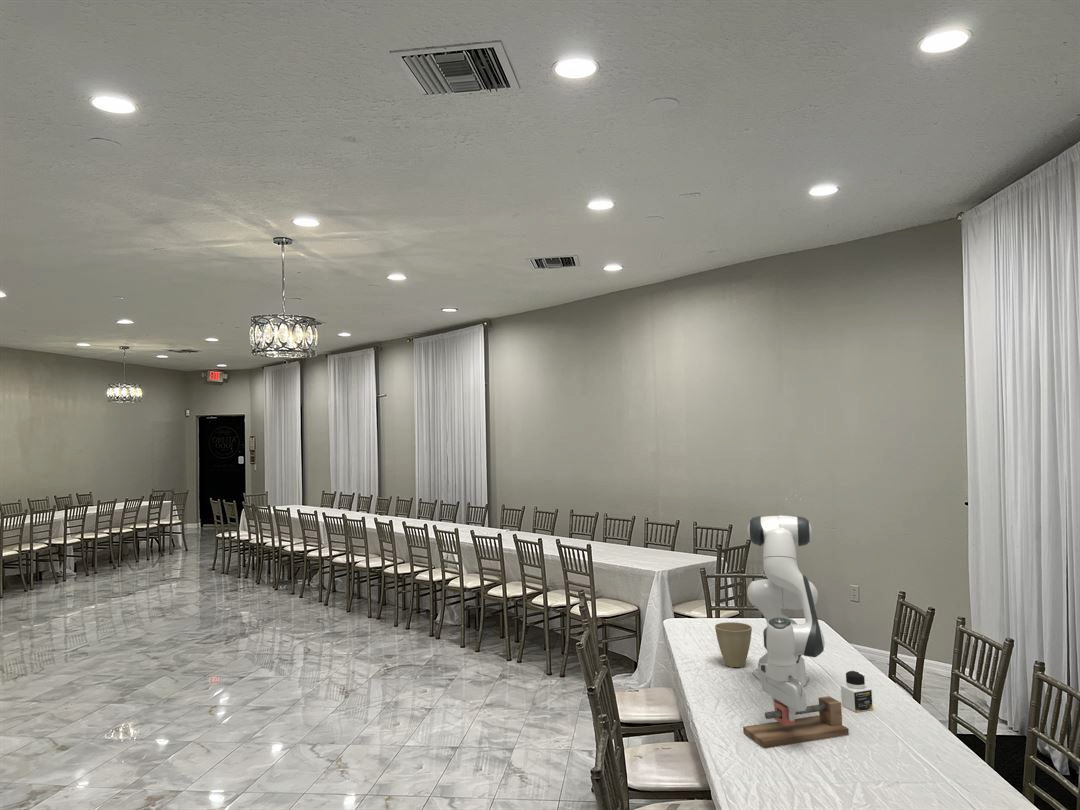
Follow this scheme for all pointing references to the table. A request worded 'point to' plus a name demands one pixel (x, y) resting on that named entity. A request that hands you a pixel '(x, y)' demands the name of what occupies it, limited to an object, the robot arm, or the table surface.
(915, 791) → the table surface
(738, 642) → the plant pot
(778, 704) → the square nut
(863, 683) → the medicine bottle
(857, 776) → the table surface
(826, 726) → the rod stand
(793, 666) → the robot arm
